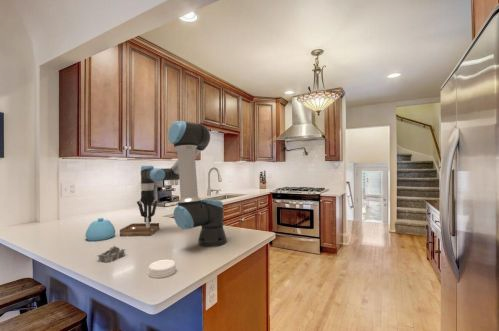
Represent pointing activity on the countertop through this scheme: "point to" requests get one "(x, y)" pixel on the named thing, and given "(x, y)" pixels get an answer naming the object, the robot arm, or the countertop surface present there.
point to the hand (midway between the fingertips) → (147, 227)
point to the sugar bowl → (100, 230)
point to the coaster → (162, 268)
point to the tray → (139, 229)
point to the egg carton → (111, 254)
